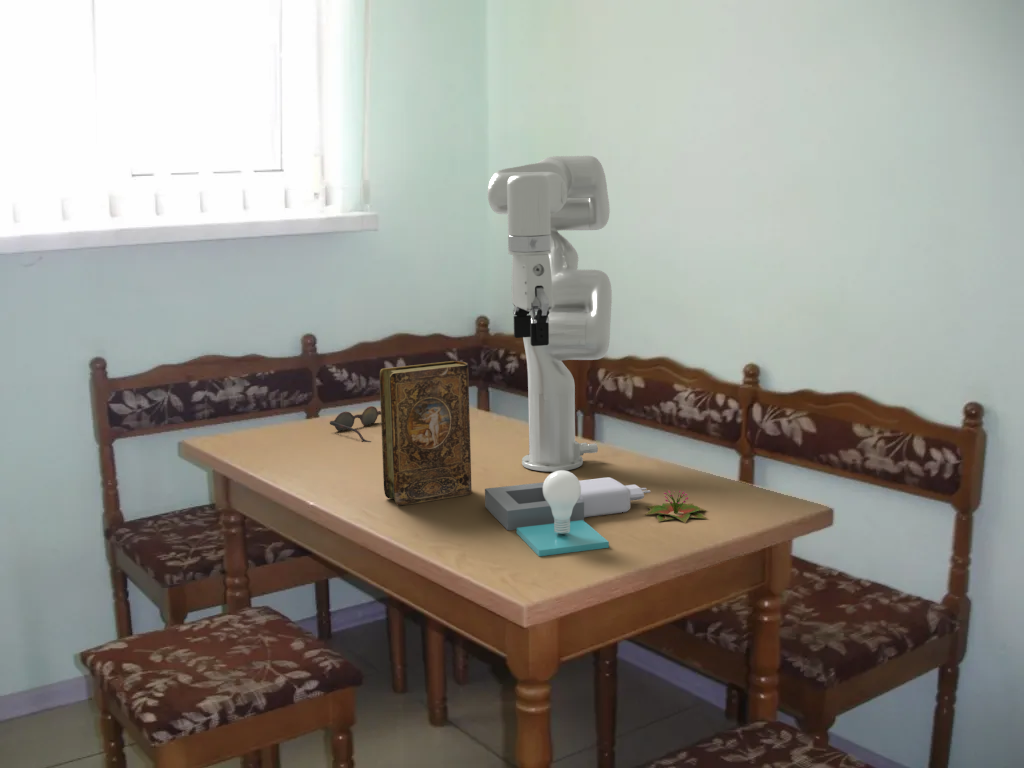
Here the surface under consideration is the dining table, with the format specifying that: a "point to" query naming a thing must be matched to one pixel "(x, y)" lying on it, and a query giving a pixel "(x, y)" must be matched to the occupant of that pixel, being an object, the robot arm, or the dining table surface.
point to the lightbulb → (561, 498)
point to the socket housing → (524, 506)
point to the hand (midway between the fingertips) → (531, 341)
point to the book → (425, 432)
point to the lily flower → (676, 509)
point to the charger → (608, 496)
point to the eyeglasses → (347, 419)
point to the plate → (562, 538)
